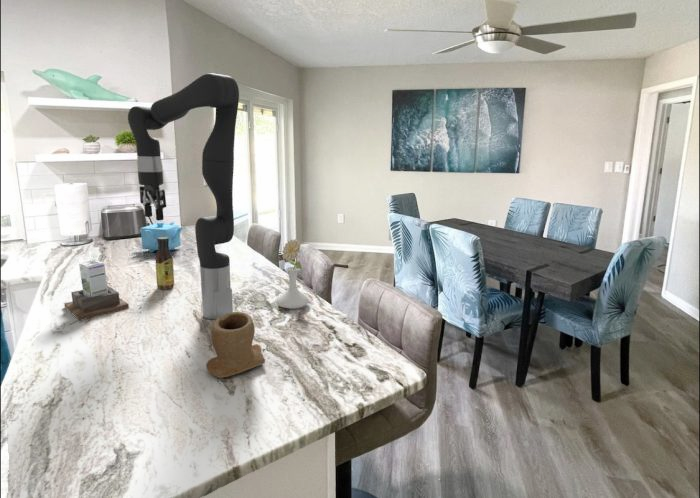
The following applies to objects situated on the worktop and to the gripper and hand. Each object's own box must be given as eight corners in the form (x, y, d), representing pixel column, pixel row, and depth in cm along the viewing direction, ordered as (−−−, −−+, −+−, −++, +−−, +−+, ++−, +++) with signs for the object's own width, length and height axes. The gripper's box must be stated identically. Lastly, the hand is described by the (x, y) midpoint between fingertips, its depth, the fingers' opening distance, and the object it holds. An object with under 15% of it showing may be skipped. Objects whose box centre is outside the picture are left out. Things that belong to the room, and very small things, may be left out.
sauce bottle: (168, 291, 165) (164, 240, 160) (153, 289, 166) (149, 239, 161) (178, 285, 171) (174, 236, 166) (164, 284, 172) (160, 235, 168)
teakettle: (139, 249, 224) (136, 221, 221) (176, 244, 235) (174, 218, 232) (147, 257, 210) (144, 227, 206) (187, 252, 220) (185, 224, 217)
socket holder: (128, 307, 148) (127, 292, 147) (79, 320, 137) (77, 304, 136) (112, 296, 158) (110, 282, 156) (64, 307, 147) (62, 292, 145)
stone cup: (219, 388, 102) (216, 330, 99) (201, 367, 111) (198, 313, 108) (276, 369, 111) (275, 315, 108) (255, 351, 120) (254, 301, 117)
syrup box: (110, 303, 148) (105, 262, 144) (92, 308, 143) (86, 266, 139) (101, 299, 151) (96, 259, 147) (83, 304, 146) (78, 263, 142)
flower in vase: (273, 301, 157) (272, 234, 151) (303, 298, 162) (303, 233, 156) (282, 315, 146) (281, 243, 140) (314, 311, 150) (315, 240, 144)
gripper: (171, 171, 141) (174, 220, 145) (152, 168, 151) (155, 214, 154) (148, 172, 136) (152, 222, 140) (129, 169, 145) (134, 216, 149)
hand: (154, 218), depth 147 cm, fingers open, 8 cm apart
